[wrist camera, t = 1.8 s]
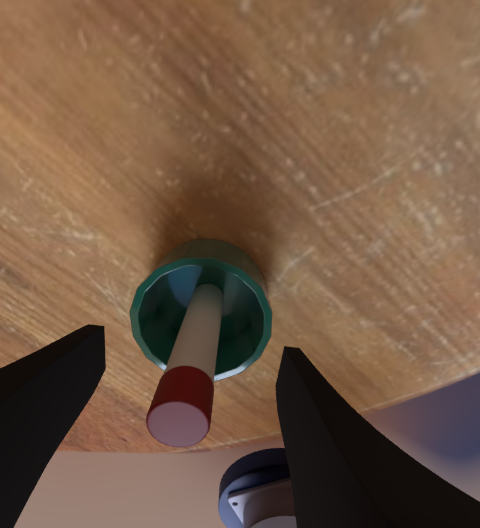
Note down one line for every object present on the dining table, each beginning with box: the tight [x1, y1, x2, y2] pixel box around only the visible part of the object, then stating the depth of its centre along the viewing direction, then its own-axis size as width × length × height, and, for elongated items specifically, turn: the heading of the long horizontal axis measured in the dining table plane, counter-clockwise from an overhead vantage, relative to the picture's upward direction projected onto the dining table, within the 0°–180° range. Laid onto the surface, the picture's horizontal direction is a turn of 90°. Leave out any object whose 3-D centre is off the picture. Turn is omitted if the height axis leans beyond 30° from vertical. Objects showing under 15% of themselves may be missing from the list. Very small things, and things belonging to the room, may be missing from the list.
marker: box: [146, 284, 223, 447], centre depth 12 cm, size 2×2×8 cm
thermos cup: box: [130, 239, 272, 381], centre depth 15 cm, size 7×7×4 cm
